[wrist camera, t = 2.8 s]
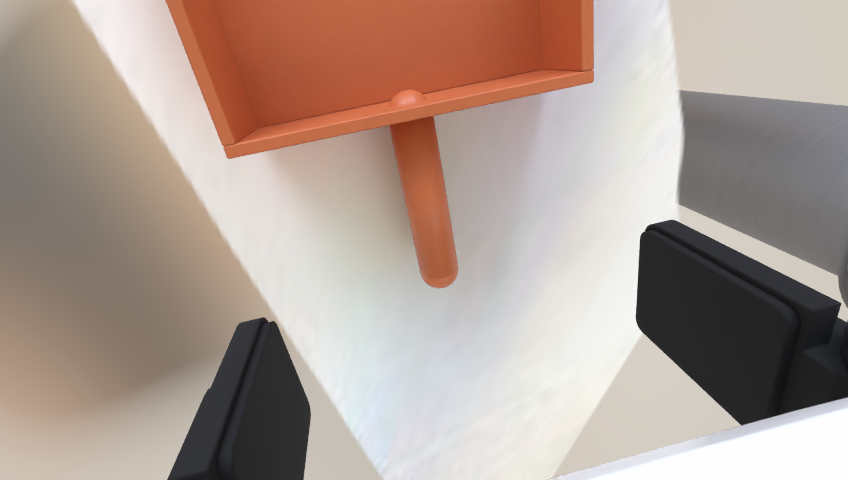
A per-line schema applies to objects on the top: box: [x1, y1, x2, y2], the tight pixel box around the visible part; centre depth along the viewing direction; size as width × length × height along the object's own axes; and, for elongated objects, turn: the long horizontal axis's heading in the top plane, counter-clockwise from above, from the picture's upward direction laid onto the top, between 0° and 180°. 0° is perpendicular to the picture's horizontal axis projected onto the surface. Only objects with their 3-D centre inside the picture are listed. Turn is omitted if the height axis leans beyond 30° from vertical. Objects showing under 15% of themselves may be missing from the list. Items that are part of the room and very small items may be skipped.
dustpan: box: [166, 0, 594, 288], centre depth 18 cm, size 22×15×4 cm
